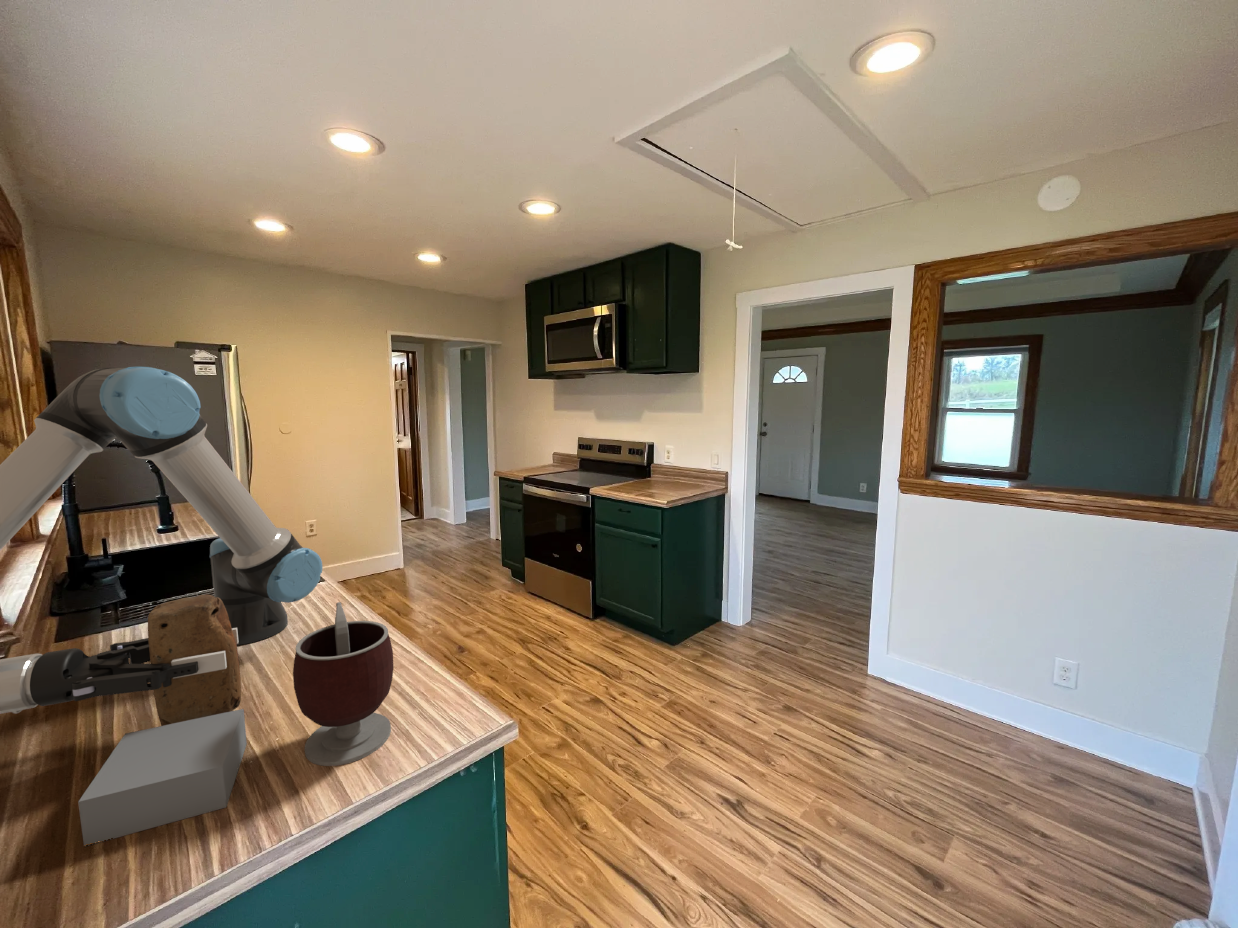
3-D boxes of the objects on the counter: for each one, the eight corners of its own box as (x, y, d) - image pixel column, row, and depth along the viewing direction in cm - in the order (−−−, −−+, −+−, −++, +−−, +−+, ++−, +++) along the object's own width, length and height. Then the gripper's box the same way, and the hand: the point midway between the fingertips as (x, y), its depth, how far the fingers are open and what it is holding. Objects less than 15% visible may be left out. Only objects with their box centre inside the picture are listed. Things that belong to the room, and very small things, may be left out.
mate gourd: (403, 748, 81) (398, 627, 78) (299, 782, 73) (289, 650, 71) (387, 699, 94) (383, 594, 91) (298, 724, 86) (290, 610, 84)
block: (156, 741, 78) (141, 617, 76) (160, 717, 84) (146, 601, 82) (244, 715, 85) (233, 599, 82) (242, 694, 91) (231, 585, 88)
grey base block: (129, 771, 75) (125, 733, 74) (246, 743, 81) (243, 708, 80) (84, 846, 62) (78, 801, 62) (226, 807, 69) (222, 765, 68)
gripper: (79, 669, 85) (246, 641, 95) (0, 747, 66) (218, 702, 76) (73, 626, 84) (242, 602, 94) (-9, 693, 65) (213, 654, 75)
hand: (231, 647), depth 85 cm, fingers closed on block, 8 cm apart
